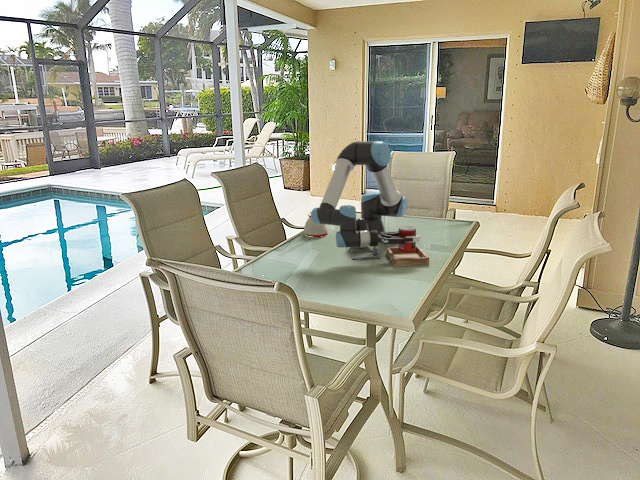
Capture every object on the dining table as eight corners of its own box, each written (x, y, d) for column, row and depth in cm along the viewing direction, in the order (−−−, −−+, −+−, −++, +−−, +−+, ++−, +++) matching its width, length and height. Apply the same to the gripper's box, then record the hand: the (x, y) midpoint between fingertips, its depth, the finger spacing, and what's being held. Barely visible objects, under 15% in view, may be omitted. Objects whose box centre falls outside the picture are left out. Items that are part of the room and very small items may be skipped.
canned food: (415, 253, 226) (415, 229, 224) (397, 252, 228) (398, 229, 225) (415, 248, 234) (416, 226, 231) (398, 248, 235) (399, 225, 233)
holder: (349, 251, 248) (349, 245, 247) (376, 250, 248) (376, 244, 247) (352, 259, 234) (351, 252, 233) (380, 258, 235) (380, 251, 234)
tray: (386, 254, 242) (386, 247, 241) (418, 252, 242) (418, 246, 241) (394, 266, 222) (394, 259, 221) (429, 264, 223) (429, 257, 222)
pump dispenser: (373, 245, 258) (373, 217, 254) (366, 250, 249) (366, 221, 245) (355, 243, 262) (354, 215, 258) (347, 248, 253) (347, 220, 249)
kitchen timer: (330, 236, 279) (329, 210, 275) (306, 238, 276) (305, 212, 272) (324, 231, 292) (323, 206, 288) (301, 233, 289) (300, 208, 285)
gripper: (366, 240, 240) (412, 239, 240) (372, 252, 220) (422, 250, 220) (366, 225, 238) (412, 224, 238) (372, 236, 218) (423, 234, 218)
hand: (417, 236), depth 229 cm, fingers closed on canned food, 8 cm apart
